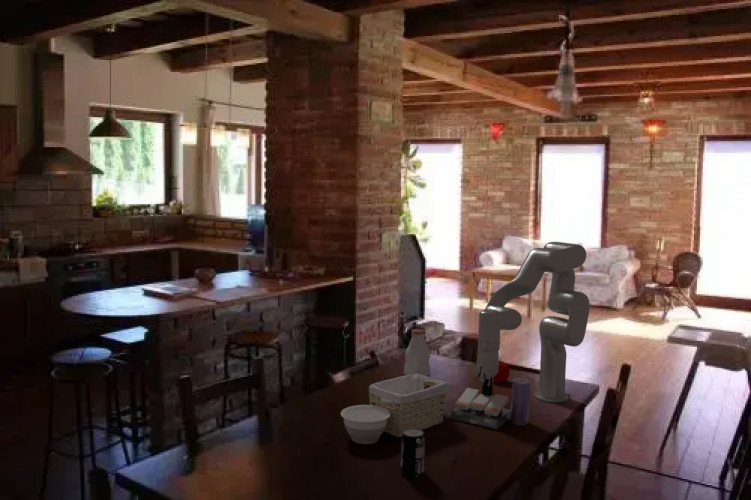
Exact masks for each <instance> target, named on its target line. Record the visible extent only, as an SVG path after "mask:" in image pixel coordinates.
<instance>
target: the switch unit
mask: <svg viewBox="0 0 751 500" xmlns="http://www.w3.org/2000/svg"><path fill="white" fill-rule="evenodd" d="M486 407H487V406H486ZM486 407H485V408H486ZM485 408H484V409H483V410H482V411H479V410H475V409H470V407H469V409H468V410H464V409H460V408H456V407H455V408H453V409H451V410H450V419H451V420H453V421H454V420H455V421H460V422H464V423H467V424H472V425H476V426H481V427H485V428H489V429H493V430H497V429H499V428H501V426H503V425H504V424H506V423H507V422H508V421H511V409H509V408H505V407H503V409H502V410H501V411H500V413H499V414H498V416H492V415H488V414H485V412H484V410H485Z"/></svg>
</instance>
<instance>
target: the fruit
mask: <svg viewBox="0 0 751 500" xmlns="http://www.w3.org/2000/svg"><path fill="white" fill-rule="evenodd" d="M510 373H511V372H510V366H509V365H508V364H507V363H506V362H504V361H502V357H499V369H498V373H497V374H496V375H495V377H494V381H493V383H496V384H503V383H505V382H506V381H507V380H508V379H509V377H510Z"/></svg>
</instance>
